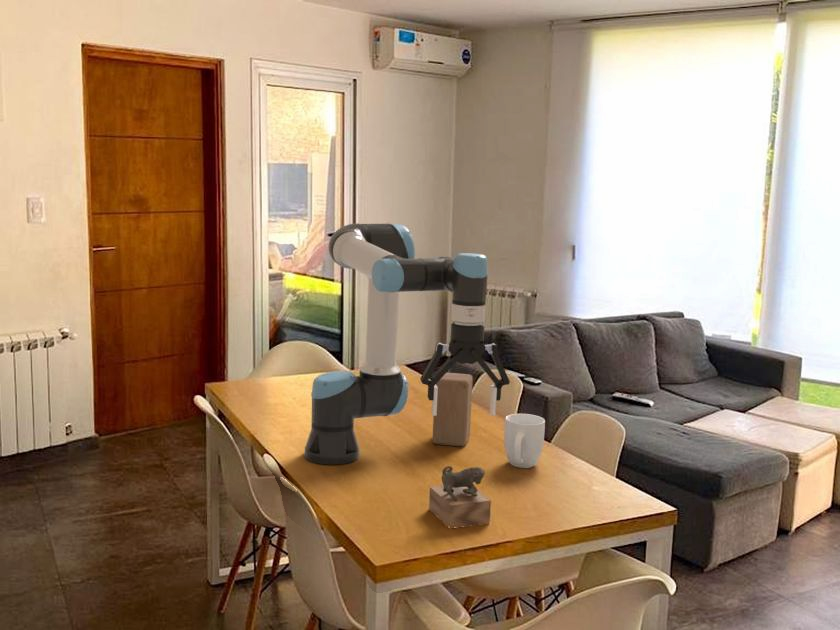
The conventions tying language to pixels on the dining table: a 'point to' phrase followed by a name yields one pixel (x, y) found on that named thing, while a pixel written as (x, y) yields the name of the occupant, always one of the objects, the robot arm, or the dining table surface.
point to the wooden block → (453, 410)
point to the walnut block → (459, 507)
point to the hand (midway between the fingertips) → (463, 414)
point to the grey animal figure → (462, 480)
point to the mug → (524, 439)
